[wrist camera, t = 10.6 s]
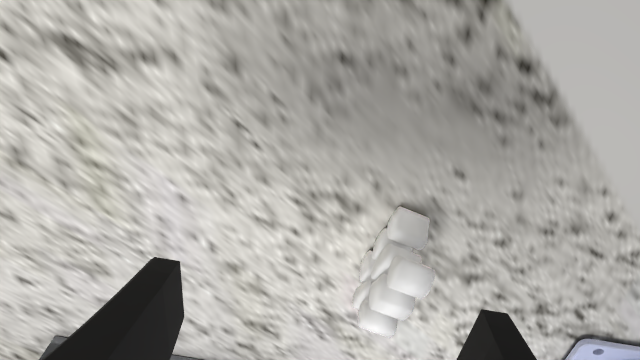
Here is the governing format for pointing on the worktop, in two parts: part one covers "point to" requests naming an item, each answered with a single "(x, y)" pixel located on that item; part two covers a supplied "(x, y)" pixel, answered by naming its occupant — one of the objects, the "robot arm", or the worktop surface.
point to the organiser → (59, 340)
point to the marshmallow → (393, 274)
